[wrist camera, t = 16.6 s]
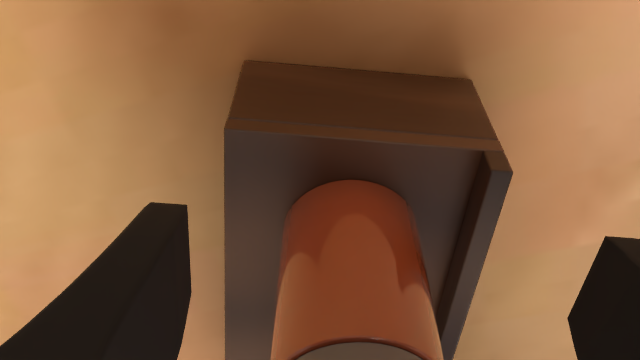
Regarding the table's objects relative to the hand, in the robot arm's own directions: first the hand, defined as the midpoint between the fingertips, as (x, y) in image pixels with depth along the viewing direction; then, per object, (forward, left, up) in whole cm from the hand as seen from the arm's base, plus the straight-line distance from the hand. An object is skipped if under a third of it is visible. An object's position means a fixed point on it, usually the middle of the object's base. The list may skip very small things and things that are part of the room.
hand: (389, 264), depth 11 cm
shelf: (-9, 0, -10) cm, 13 cm away
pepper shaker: (-4, 0, -6) cm, 7 cm away
